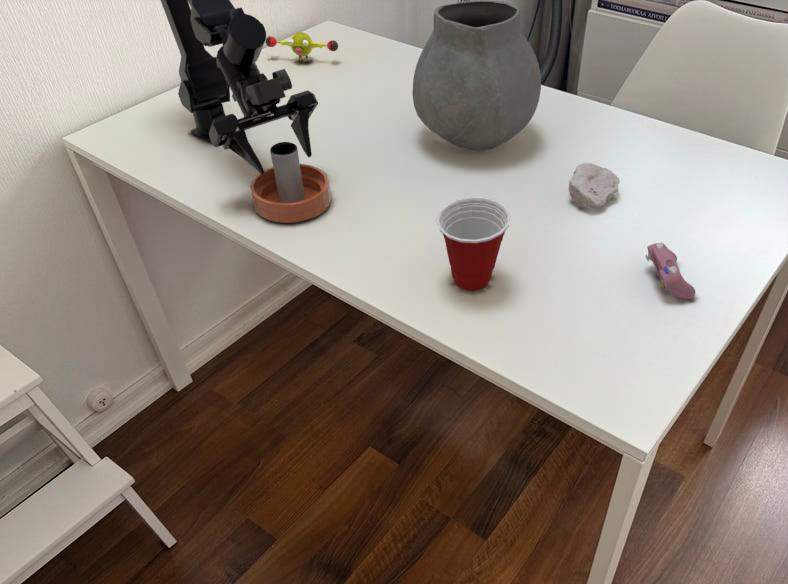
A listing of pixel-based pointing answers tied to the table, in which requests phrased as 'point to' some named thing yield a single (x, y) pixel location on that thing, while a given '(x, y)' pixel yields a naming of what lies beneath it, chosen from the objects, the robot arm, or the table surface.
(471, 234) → the plastic cup
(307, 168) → the bowl
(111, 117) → the table surface
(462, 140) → the ceramic pot
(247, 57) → the robot arm
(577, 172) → the pale grey lumpy chunk
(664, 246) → the video game controller
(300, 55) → the toy figure
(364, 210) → the table surface
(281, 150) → the grey hollow cylinder
